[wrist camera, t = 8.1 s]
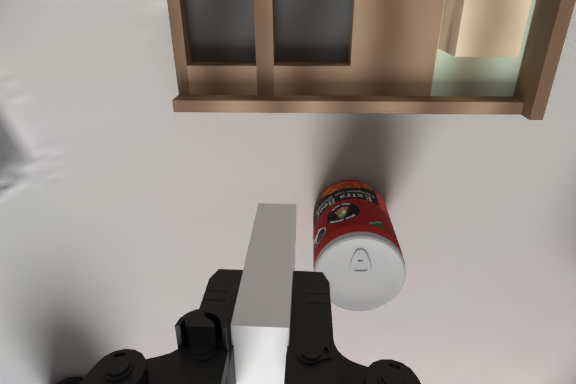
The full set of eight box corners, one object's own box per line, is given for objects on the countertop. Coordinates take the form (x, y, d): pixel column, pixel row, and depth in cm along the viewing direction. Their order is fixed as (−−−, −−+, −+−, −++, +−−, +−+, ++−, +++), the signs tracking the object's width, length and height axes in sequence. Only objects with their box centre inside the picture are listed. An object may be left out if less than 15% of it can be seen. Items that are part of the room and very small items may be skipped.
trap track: (552, -81, 32) (601, -94, 26) (509, 100, 38) (542, 119, 33) (167, -75, 33) (140, -87, 28) (187, 98, 39) (168, 117, 34)
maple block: (506, -14, 32) (534, -13, 28) (493, 48, 34) (518, 56, 30) (446, -13, 32) (466, -13, 28) (437, 48, 34) (454, 56, 30)
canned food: (374, 168, 42) (393, 224, 32) (393, 232, 45) (416, 301, 35) (302, 190, 43) (300, 251, 33) (326, 250, 46) (330, 321, 37)
